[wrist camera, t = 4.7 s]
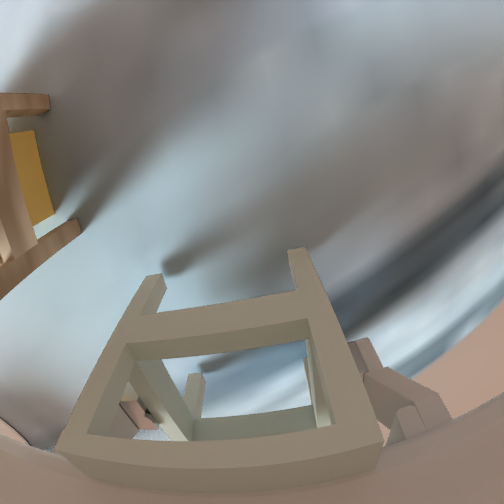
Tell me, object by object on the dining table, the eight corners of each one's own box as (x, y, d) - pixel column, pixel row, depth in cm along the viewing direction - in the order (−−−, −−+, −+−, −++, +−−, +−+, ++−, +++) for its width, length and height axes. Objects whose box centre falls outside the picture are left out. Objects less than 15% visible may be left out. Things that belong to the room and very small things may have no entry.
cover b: (146, 275, 11) (55, 449, 4) (305, 246, 11) (384, 440, 4) (192, 382, 14) (170, 527, 7) (317, 365, 14) (353, 516, 6)
